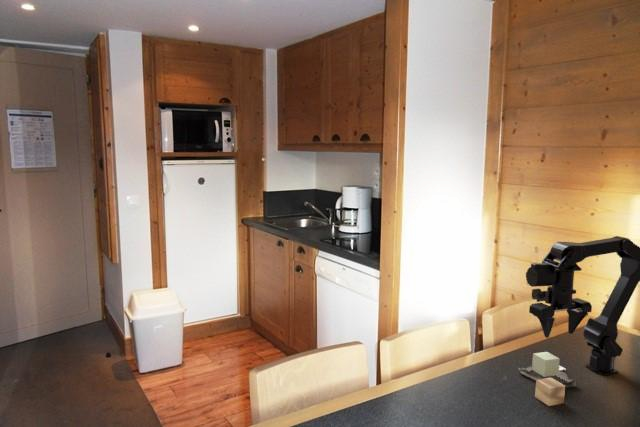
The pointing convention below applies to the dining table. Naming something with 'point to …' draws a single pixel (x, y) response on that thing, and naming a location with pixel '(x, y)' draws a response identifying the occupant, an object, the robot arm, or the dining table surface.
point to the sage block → (545, 364)
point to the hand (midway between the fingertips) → (558, 335)
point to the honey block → (550, 391)
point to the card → (561, 368)
